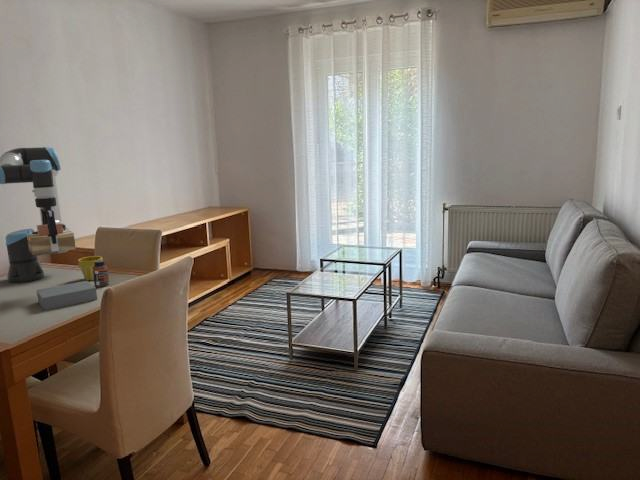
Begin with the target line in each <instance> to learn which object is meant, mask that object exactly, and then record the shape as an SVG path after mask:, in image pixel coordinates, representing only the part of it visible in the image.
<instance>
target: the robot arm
mask: <svg viewBox="0 0 640 480" xmlns="http://www.w3.org/2000/svg"><path fill="white" fill-rule="evenodd" d="M60 170H61V164H60V161H59V156H58V154H57V150H56V149H55V148H54V147H49V146H48V147H45V146H42V147H18V148H13V149H11V150H8V151H6V152H4V153H2V154H1V156H0V185H4V184H5V185H7V184H9V185H10V184H21V183H23V184H24V183H25V184H26V183H32V185H33V186H32V188H33V189H32V190H31V192H32V193H34V197H35V199H34V201H35V207H36V208H38V209H39V214H40V215H39V216H40V221H41V223H40V225H45V224H47V226H48V230H49V235H48V237H49V238H50V245H51V253H44V254H37V255H33V254H32V253H31V252H30V251H29V246H28V240H27V235H31V234H38V231H35V230H34V229H33V228H25V229H20V230H16V231H12V232H9V233H8V234H7V235H6V236H5V246H6V250H7V257H8V263H9V266H8V271H7V276H6V277H7V282H9V283H25V282H26V283H27V282H32V281H36V280H40V279H42V278H44V277H45V271H44V269H43V267H42V265H41V264H40V262H39V258H38V256H45V255H53V254H62V253H66V252H68V251H69V250H65V251H59V247H58V240H57V235H58V233H57V228H56V223H61V224H62V227H63V231H64V230H69V231H70V228H68V227H67V226H66V224H65V223H63V222H62V216H61V208H60V203H59V196H58V195H59V194H58V188H57V187H58V186H57V180H56V177H57V176H58V174H59V171H60ZM54 251H58V252H54Z"/></svg>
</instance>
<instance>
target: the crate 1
mask: <svg viewBox="0 0 640 480" xmlns="http://www.w3.org/2000/svg"><path fill="white" fill-rule="evenodd" d="M36 230H37V231H38V235H39V236H44V235H49V230H48V226H47V224H45V225H41V224H37V225H36Z"/></svg>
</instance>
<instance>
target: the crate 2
mask: <svg viewBox="0 0 640 480" xmlns="http://www.w3.org/2000/svg"><path fill="white" fill-rule="evenodd" d="M56 228H57V233H58V234H60V233H63V227H62V224H61V223H56Z"/></svg>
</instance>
